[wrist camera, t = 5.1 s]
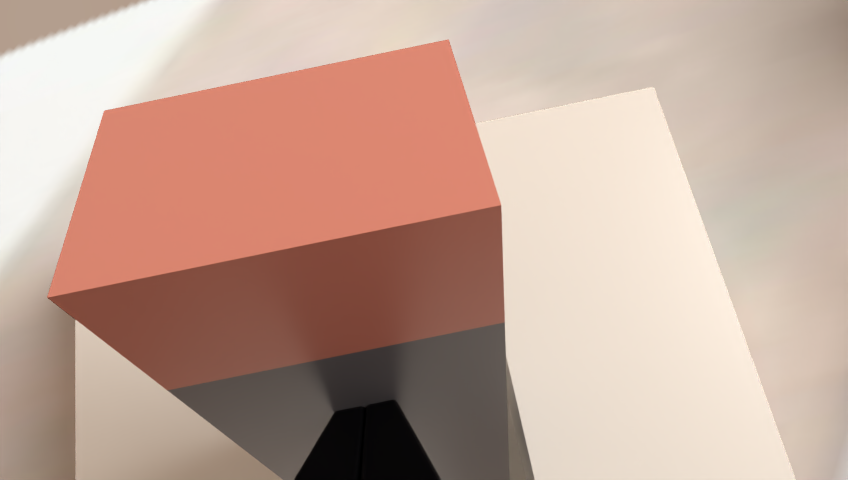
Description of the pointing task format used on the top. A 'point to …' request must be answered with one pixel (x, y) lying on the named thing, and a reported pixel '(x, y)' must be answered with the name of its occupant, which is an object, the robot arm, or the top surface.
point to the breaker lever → (304, 256)
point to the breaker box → (540, 326)
